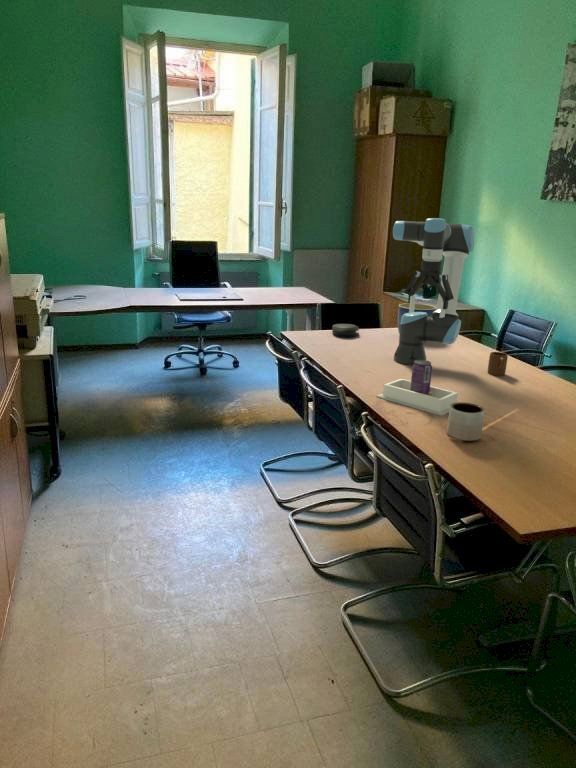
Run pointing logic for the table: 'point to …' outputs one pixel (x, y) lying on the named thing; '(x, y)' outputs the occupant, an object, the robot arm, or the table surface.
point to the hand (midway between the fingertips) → (426, 314)
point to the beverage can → (421, 376)
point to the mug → (497, 363)
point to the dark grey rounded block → (344, 330)
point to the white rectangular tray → (419, 397)
